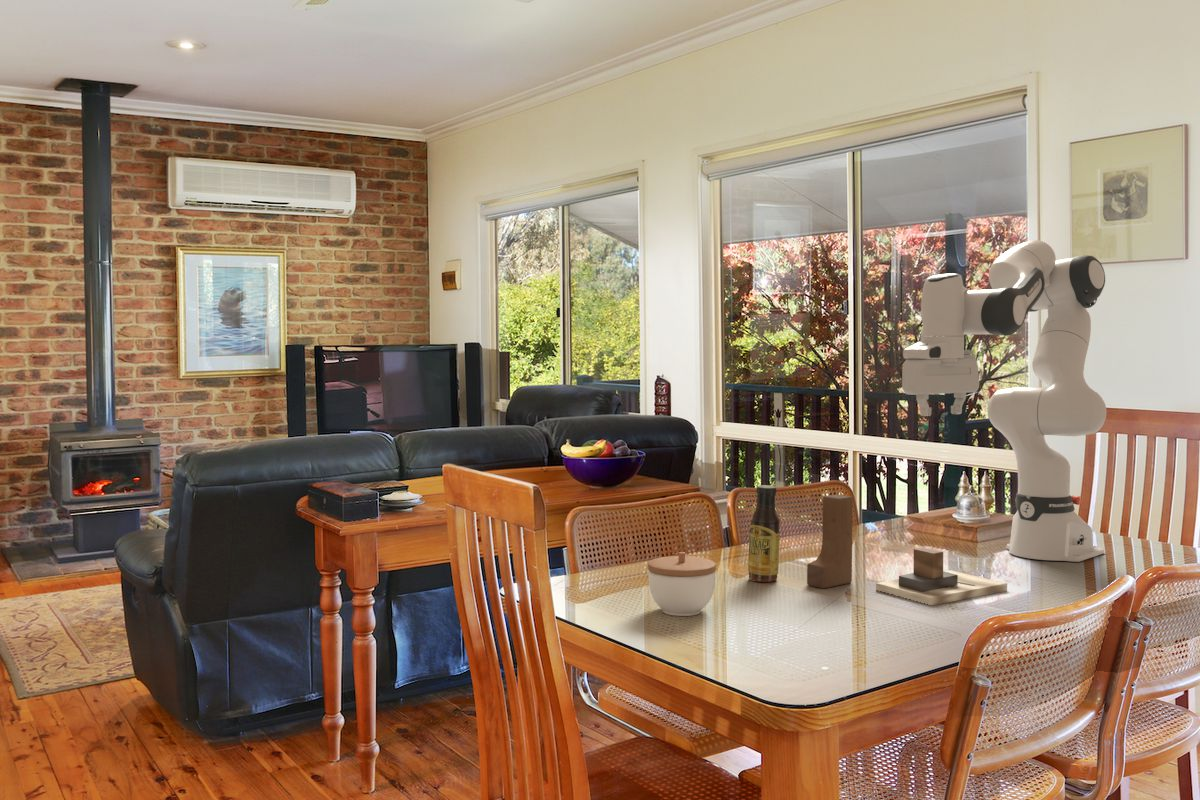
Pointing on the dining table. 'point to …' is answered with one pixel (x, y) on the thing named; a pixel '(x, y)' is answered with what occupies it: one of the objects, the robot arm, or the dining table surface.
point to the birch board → (946, 589)
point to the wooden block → (834, 545)
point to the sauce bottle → (764, 537)
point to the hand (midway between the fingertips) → (941, 415)
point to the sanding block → (928, 572)
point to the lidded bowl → (681, 583)
